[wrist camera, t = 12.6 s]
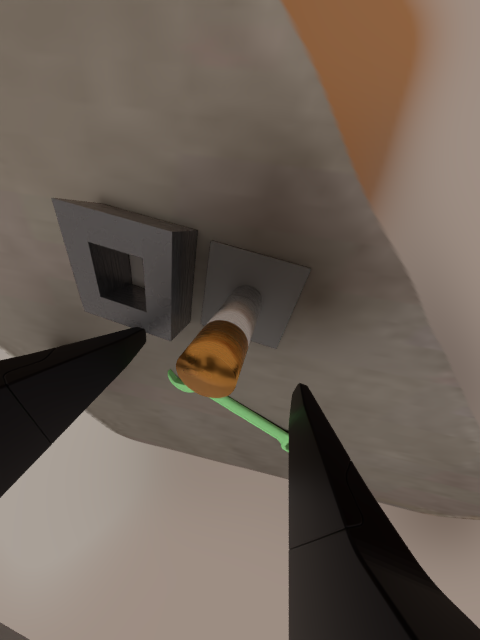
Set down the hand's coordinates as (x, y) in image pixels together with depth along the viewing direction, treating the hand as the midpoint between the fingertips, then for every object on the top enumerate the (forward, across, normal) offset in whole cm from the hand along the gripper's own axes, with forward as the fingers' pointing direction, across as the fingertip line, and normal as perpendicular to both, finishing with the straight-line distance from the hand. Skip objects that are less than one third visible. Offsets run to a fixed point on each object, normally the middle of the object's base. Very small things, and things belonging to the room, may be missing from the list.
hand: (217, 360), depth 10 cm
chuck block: (+9, +11, 0) cm, 14 cm away
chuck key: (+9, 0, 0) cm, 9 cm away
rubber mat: (+9, 0, 0) cm, 9 cm away
